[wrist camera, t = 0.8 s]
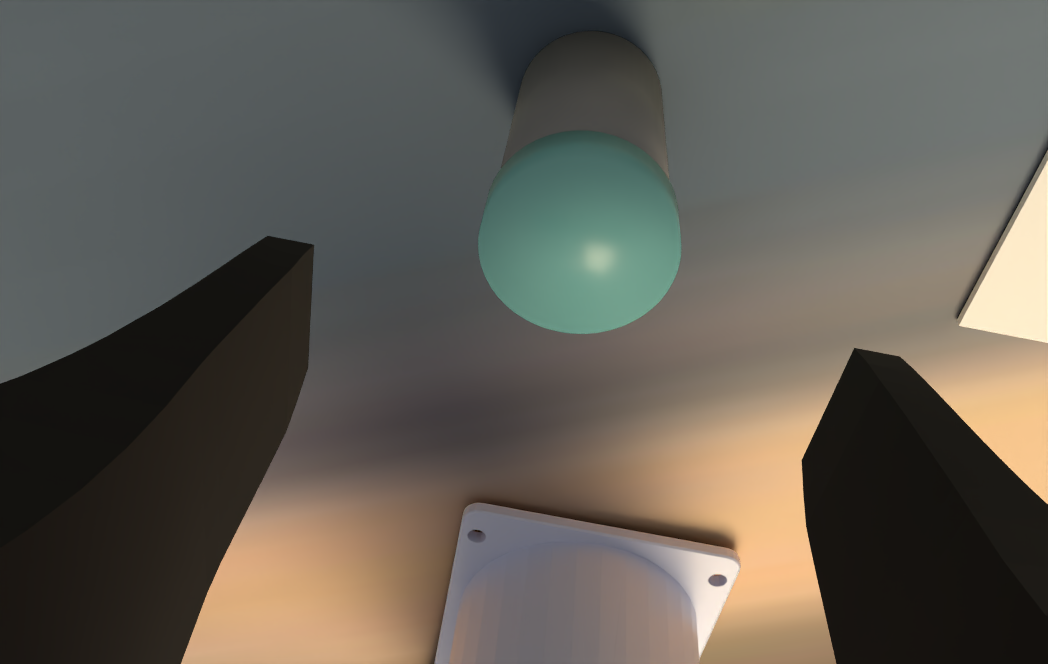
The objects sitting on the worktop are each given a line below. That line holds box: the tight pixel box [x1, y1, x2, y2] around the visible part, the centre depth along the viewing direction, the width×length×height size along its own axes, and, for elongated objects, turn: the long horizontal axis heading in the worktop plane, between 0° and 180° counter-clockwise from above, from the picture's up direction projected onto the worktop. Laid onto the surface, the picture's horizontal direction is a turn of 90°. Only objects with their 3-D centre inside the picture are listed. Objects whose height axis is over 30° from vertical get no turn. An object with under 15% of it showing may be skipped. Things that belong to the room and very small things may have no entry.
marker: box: [478, 31, 681, 334], centre depth 18 cm, size 3×3×6 cm
